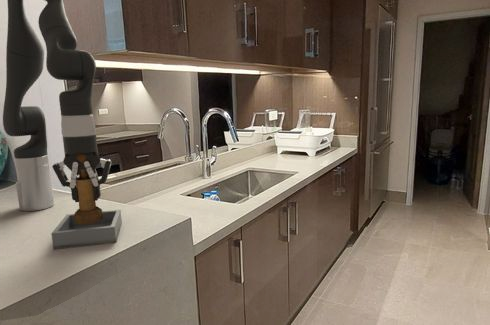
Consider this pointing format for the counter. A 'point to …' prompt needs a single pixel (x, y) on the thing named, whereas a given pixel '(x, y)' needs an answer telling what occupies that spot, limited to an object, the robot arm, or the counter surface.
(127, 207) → the counter surface
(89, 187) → the turned wooden knob
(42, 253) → the counter surface
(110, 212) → the tray
